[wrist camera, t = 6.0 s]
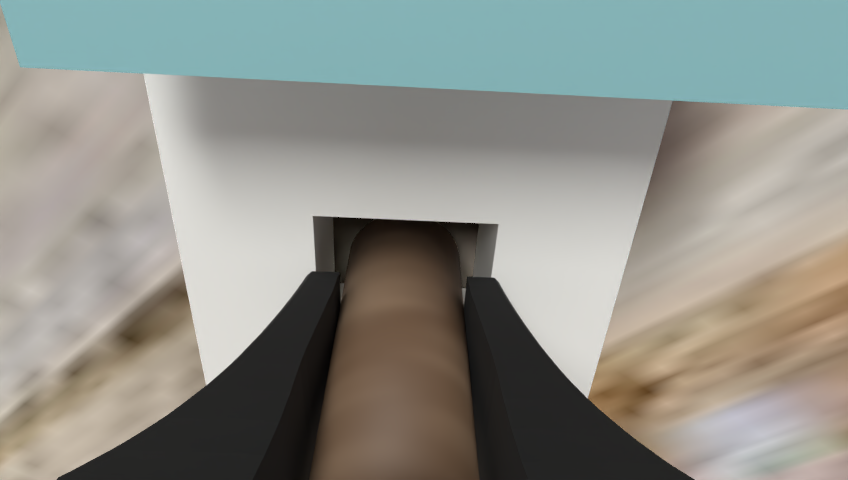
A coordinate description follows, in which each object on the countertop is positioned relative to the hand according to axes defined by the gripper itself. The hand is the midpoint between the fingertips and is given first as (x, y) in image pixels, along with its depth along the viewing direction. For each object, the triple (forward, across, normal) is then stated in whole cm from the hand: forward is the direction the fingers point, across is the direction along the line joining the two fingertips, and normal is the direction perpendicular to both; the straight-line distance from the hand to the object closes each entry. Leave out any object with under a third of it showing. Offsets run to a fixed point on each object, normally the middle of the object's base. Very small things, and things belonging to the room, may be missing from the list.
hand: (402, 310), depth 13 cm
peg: (+2, 0, 0) cm, 2 cm away
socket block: (+4, 0, 0) cm, 4 cm away
